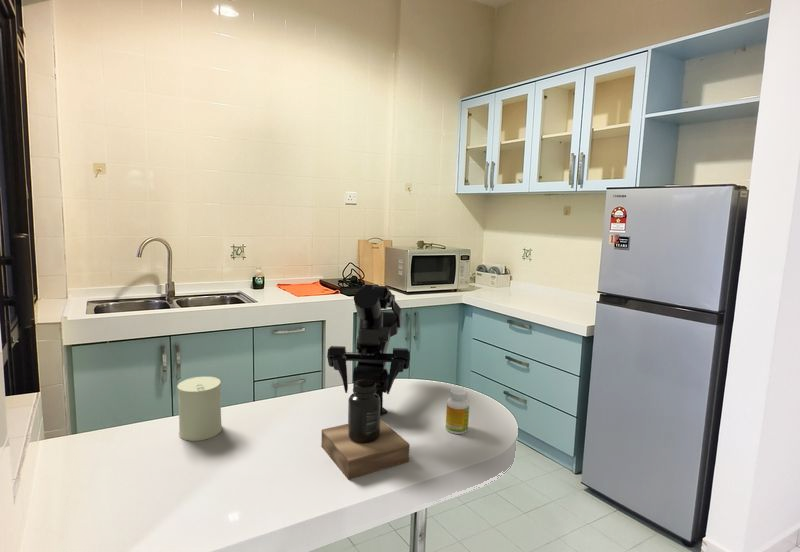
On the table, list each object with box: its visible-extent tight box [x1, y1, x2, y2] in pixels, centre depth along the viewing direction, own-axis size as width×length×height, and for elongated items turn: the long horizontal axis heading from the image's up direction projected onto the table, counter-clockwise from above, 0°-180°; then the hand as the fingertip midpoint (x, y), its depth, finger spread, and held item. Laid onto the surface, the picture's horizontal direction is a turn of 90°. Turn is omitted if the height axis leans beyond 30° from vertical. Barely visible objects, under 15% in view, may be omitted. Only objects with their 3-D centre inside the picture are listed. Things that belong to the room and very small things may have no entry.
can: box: [176, 376, 223, 442], centre depth 109 cm, size 9×9×12 cm
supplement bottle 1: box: [347, 379, 381, 443], centre depth 102 cm, size 7×7×12 cm
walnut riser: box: [321, 418, 411, 480], centre depth 103 cm, size 14×14×4 cm
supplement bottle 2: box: [445, 387, 470, 435], centre depth 115 cm, size 5×5×10 cm
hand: (367, 392), depth 106 cm, fingers open, 9 cm apart
